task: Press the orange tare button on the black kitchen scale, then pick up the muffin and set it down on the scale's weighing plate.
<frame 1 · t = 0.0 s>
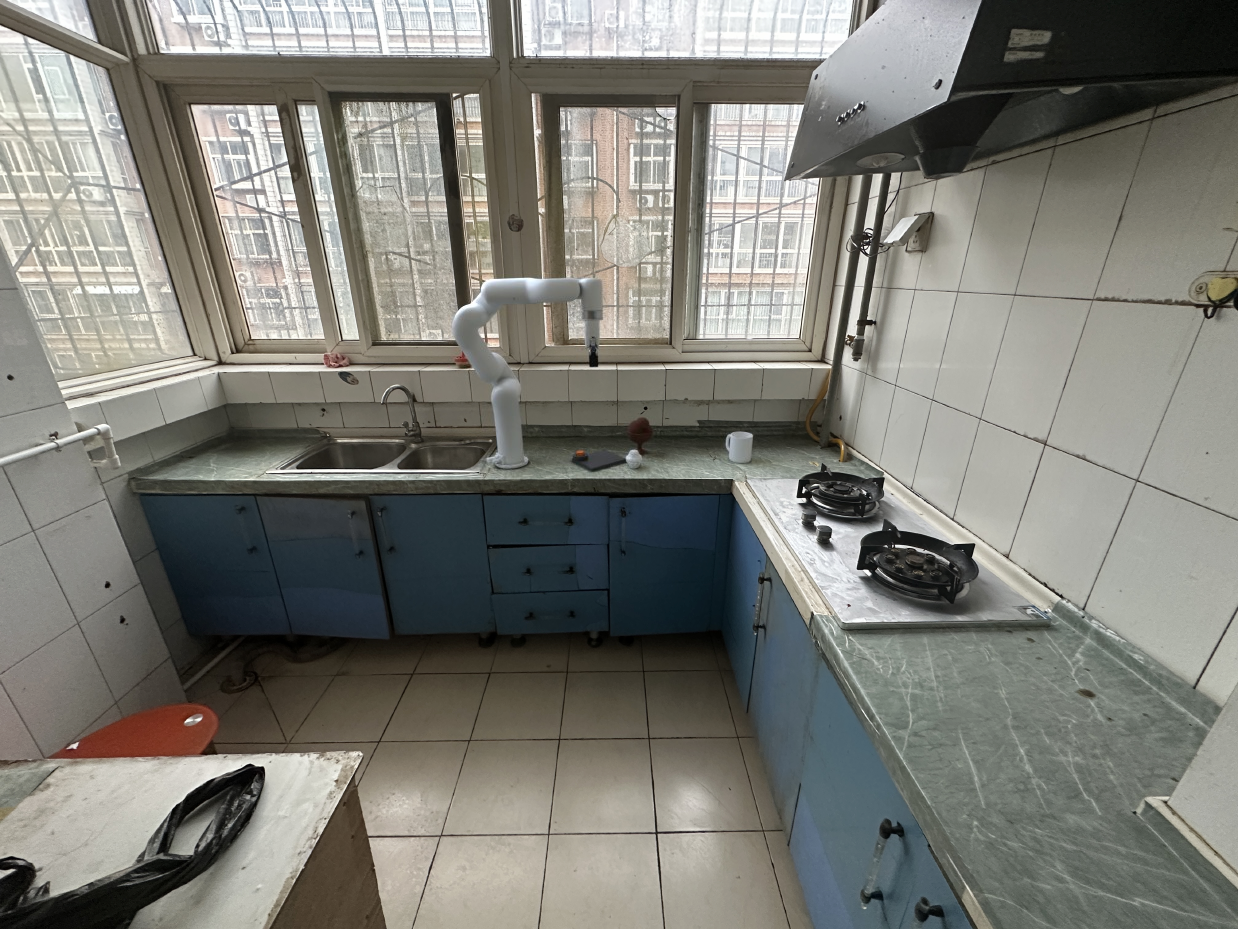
hand: (593, 364, 181), 37 cm above the worktop, tool pointing down, fingers open, 9 cm apart
tare button: (580, 453, 192), point 3 cm above the worktop, slide at 0.1 cm
muffin: (634, 467, 187), on the worktop
scale: (598, 461, 193), on the worktop
cup: (736, 458, 195), on the worktop
ice cream bowl: (639, 453, 202), on the worktop
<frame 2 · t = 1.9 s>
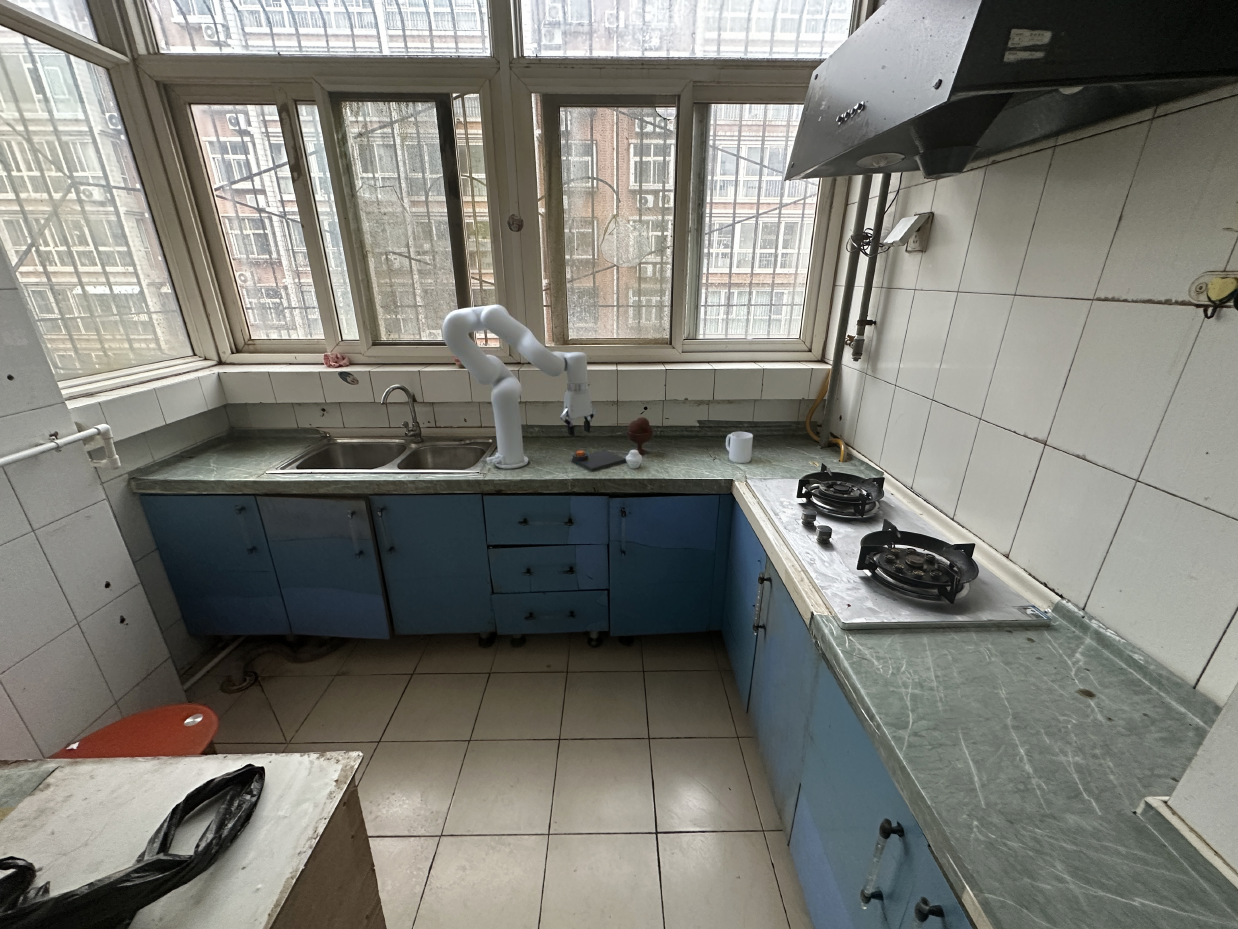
hand: (579, 433, 189), 12 cm above the worktop, tool pointing down, fingers open, 6 cm apart
nothing on the worktop moved.
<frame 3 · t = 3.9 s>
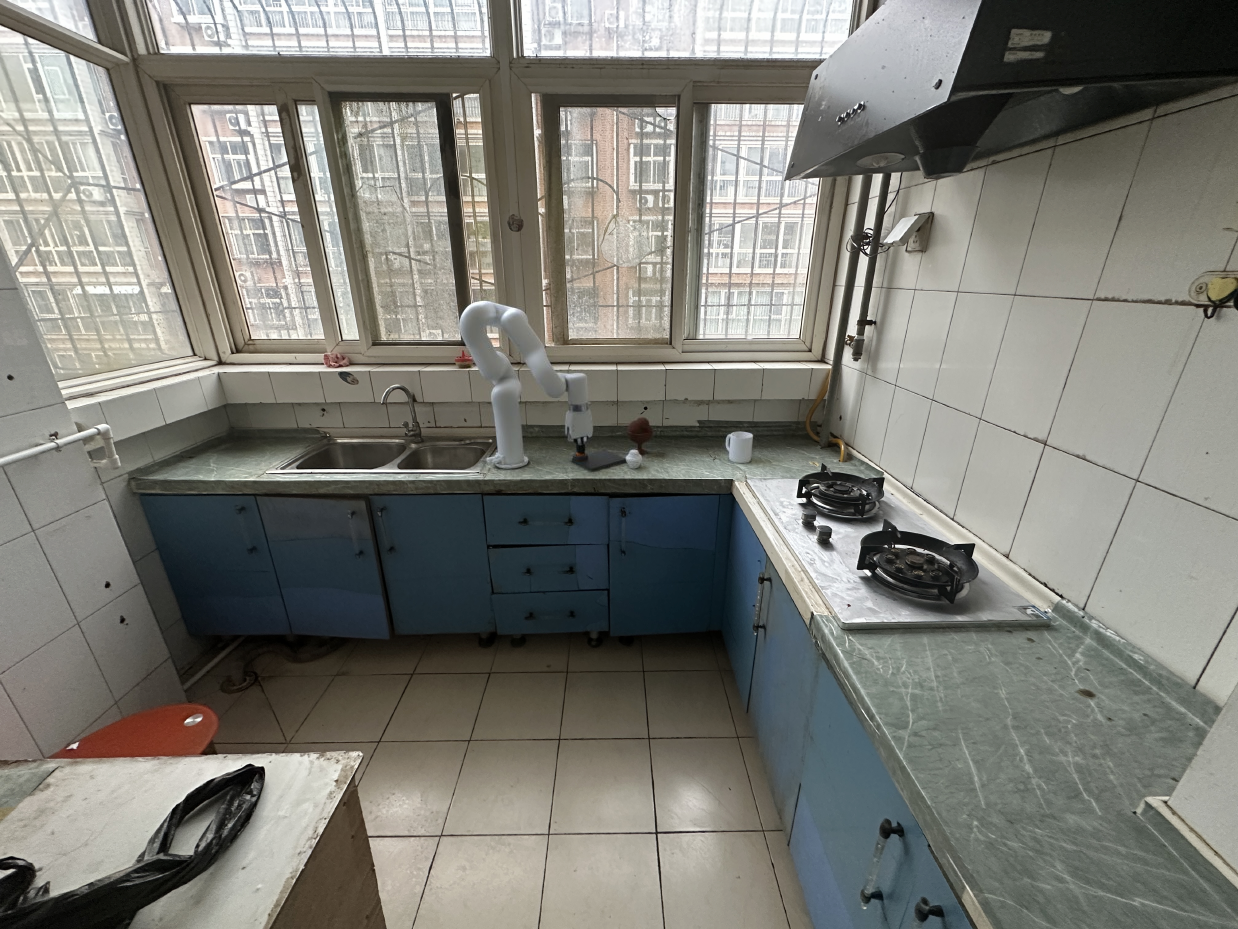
hand: (581, 453, 192), 3 cm above the worktop, tool pointing down, fingers closed
tare button: (580, 455, 192), point 3 cm above the worktop, slide at -0.6 cm, touching gripper
everything else where it was.
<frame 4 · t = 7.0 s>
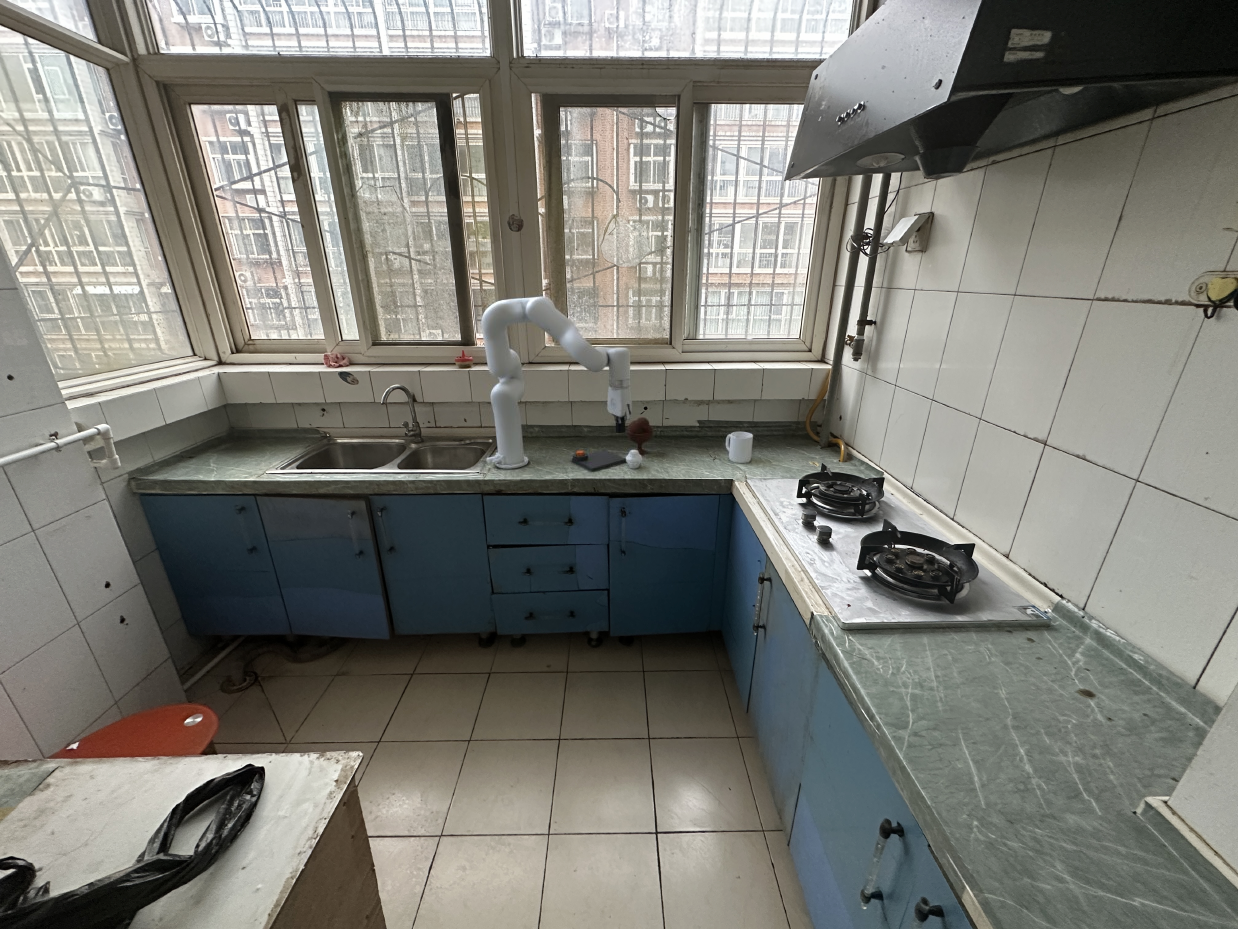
hand: (620, 432, 184), 13 cm above the worktop, tool pointing down, fingers closed
tare button: (580, 453, 192), point 3 cm above the worktop, slide at 0.1 cm
everything else where it was.
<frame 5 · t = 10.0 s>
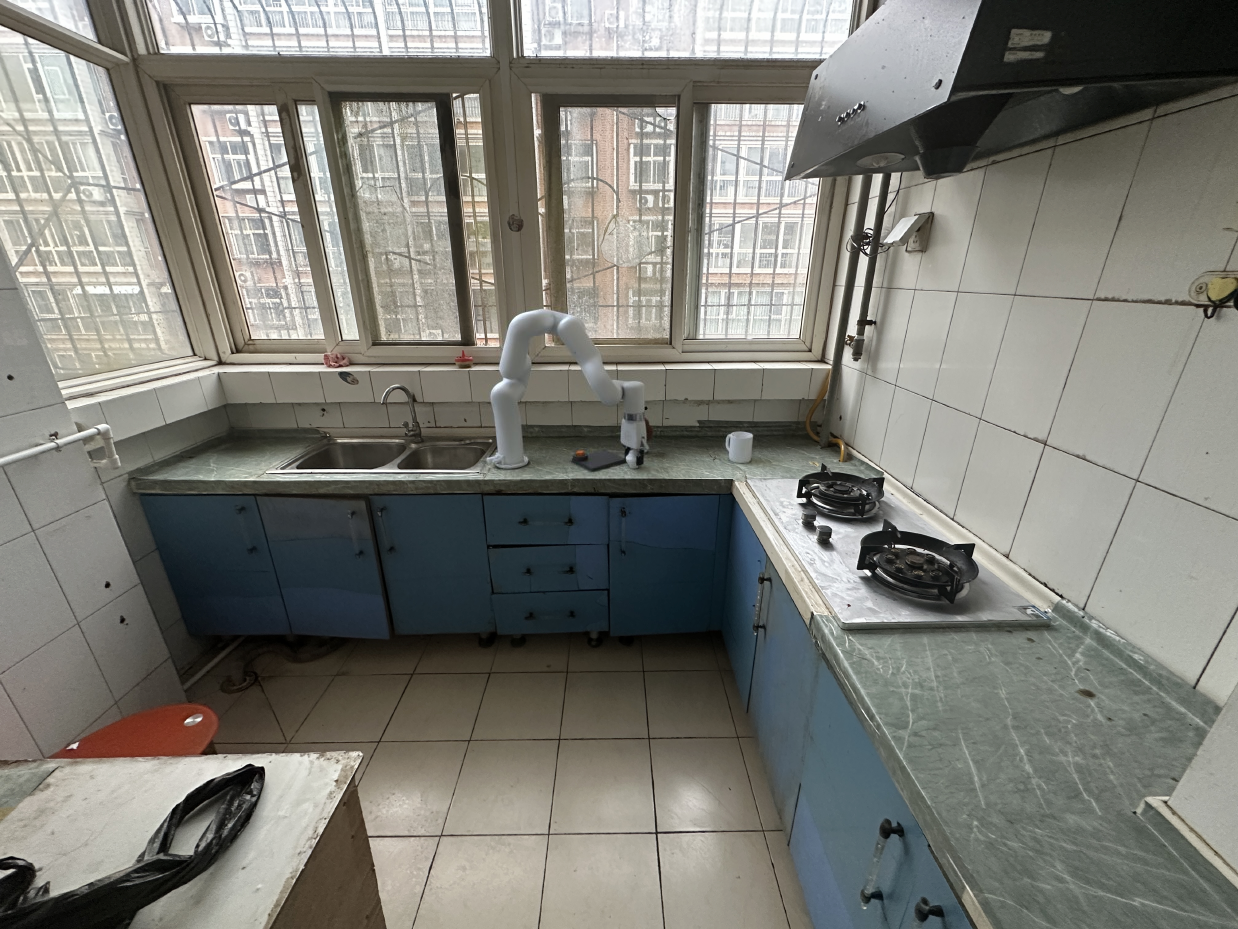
hand: (634, 462, 186), 2 cm above the worktop, tool pointing down, fingers closed on muffin, 6 cm apart
muffin: (634, 467, 187), on the worktop, touching gripper
everything else where it was.
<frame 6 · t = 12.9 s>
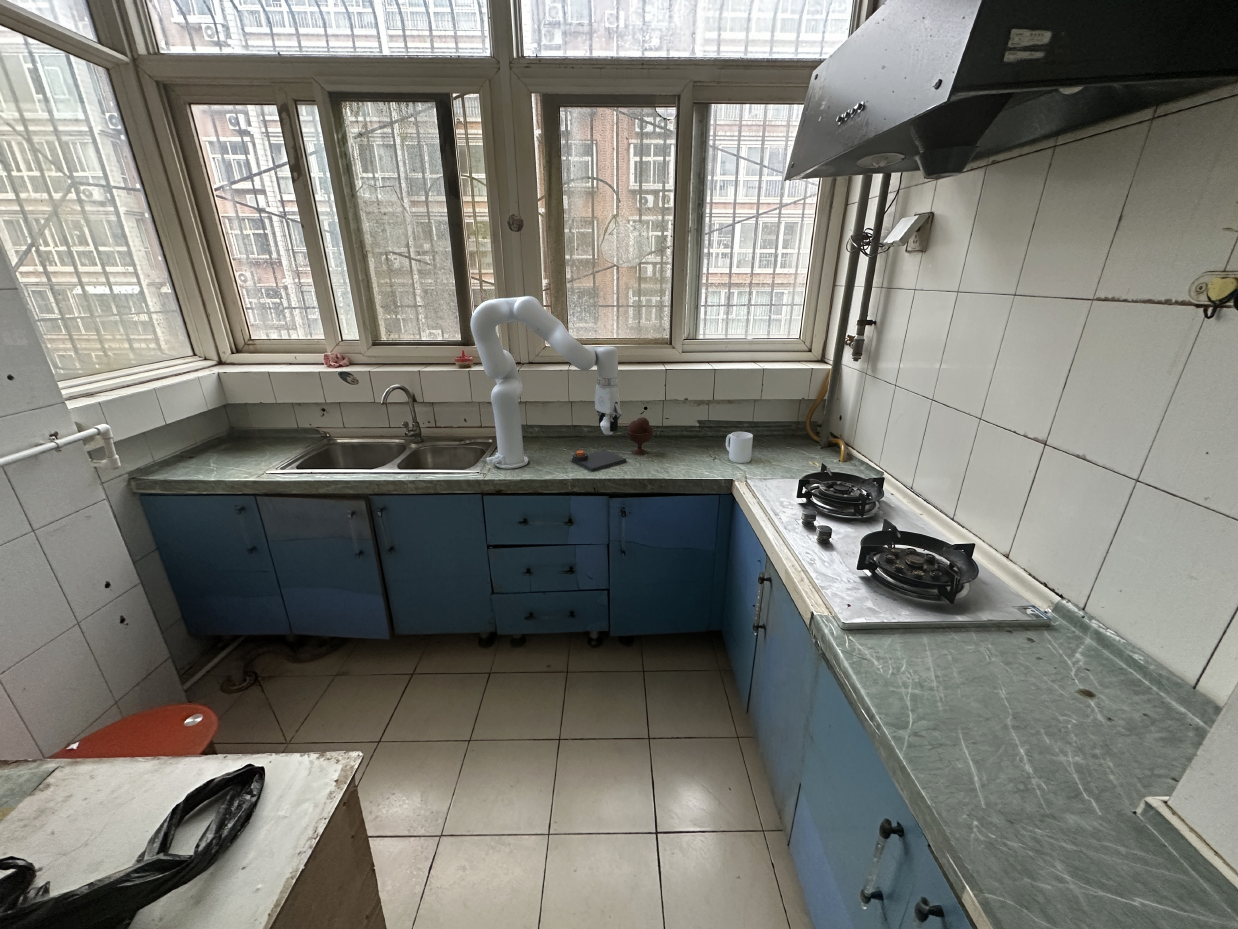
hand: (608, 428, 187), 14 cm above the worktop, tool pointing down, fingers closed on muffin, 6 cm apart
muffin: (608, 434, 188), point 12 cm above the worktop, touching gripper
everything else where it was.
when the fingers open (3 cm above the worktop, at t = 15.8 s): muffin stays where it is, resting on scale.
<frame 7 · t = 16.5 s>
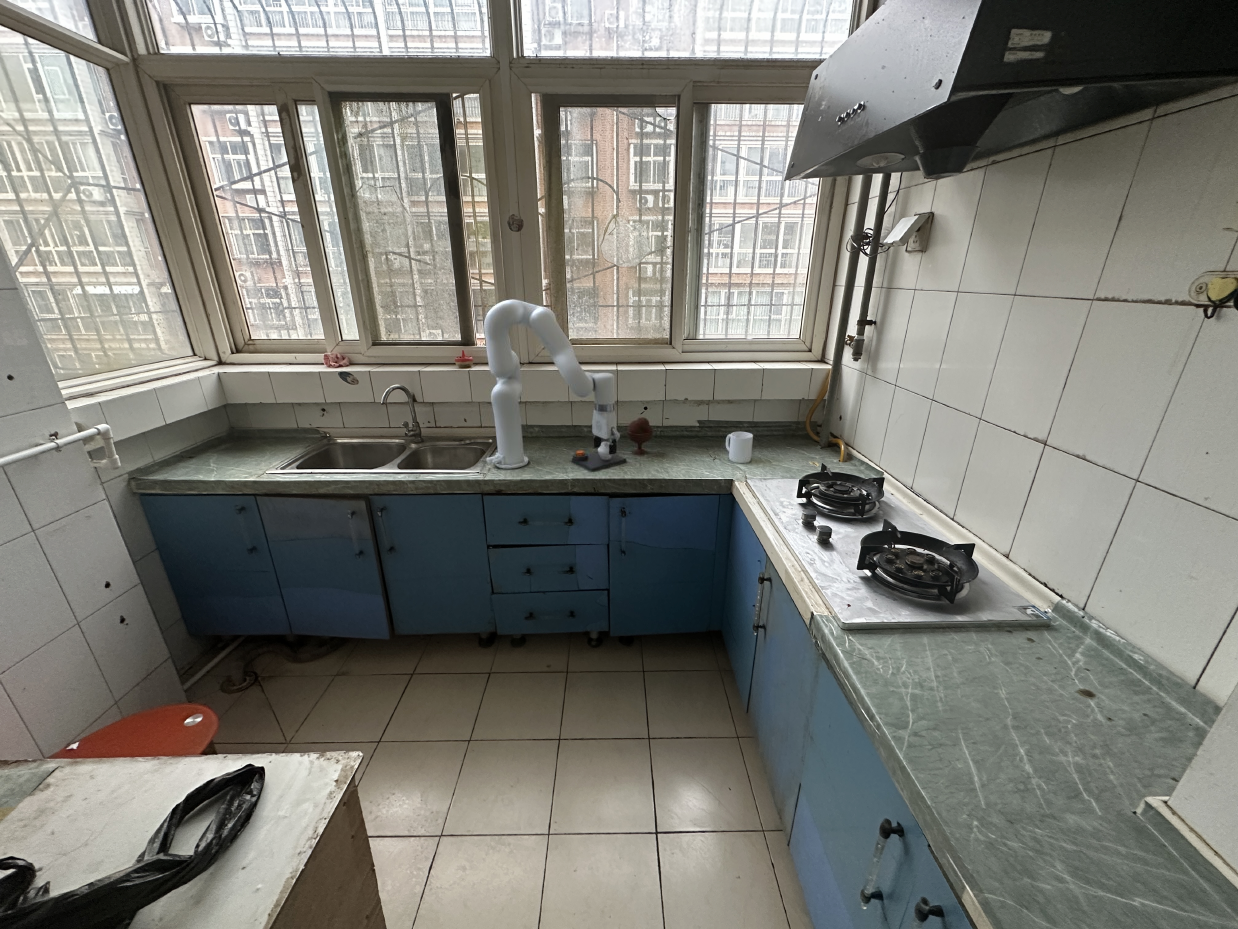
hand: (605, 450, 191), 5 cm above the worktop, tool pointing down, fingers open, 9 cm apart
muffin: (605, 459, 192), point 1 cm above the worktop, touching scale
everything else where it was.
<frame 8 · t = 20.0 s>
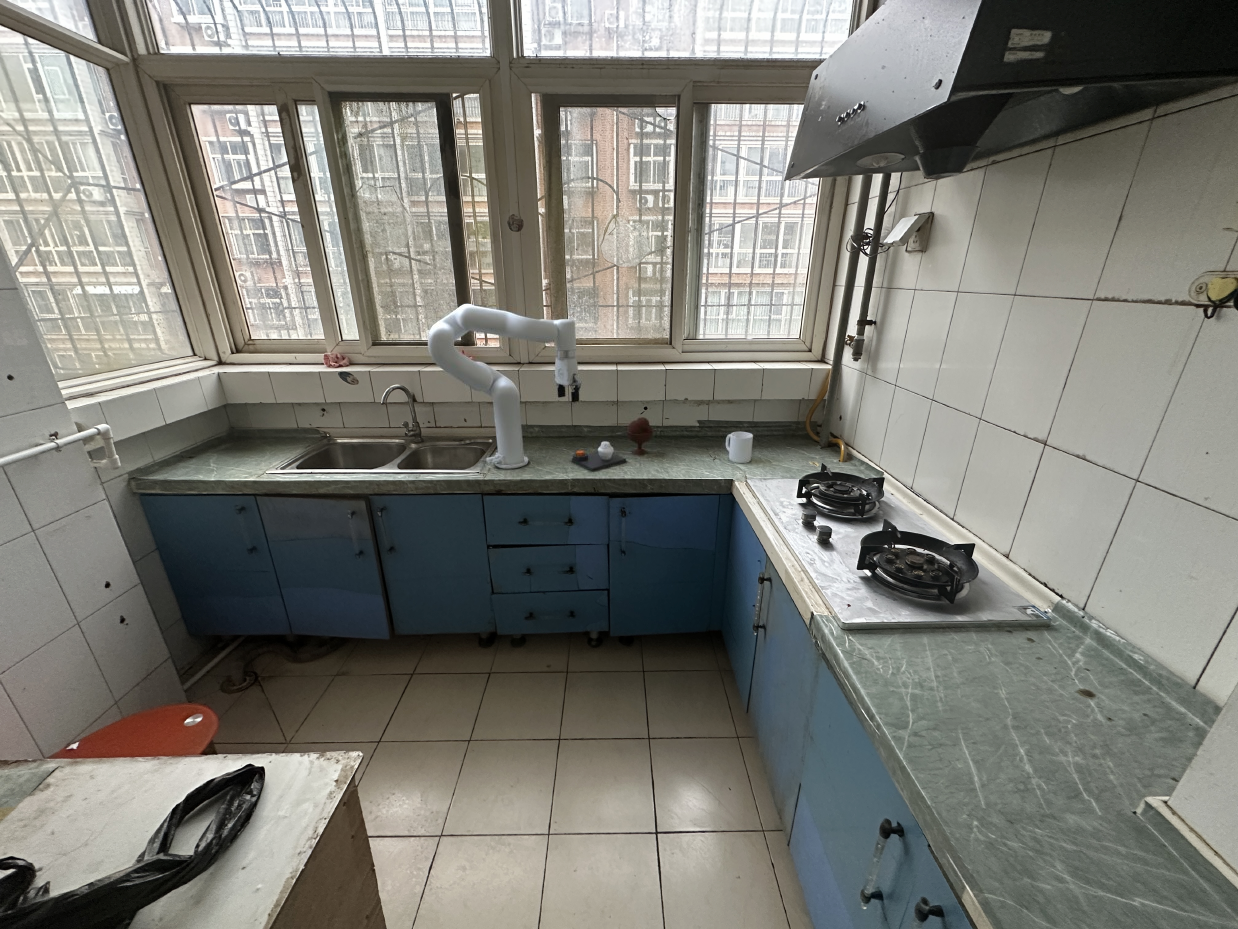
hand: (568, 399, 190), 23 cm above the worktop, tool pointing down, fingers open, 9 cm apart
nothing on the worktop moved.
at the end: tare button pushed in 0.9 cm at the most during the clip, back to where it started at the end; tare button slide at 0.1 cm; muffin inside the target area on the scale (2.8 cm from its centre), point 1.2 cm above the scale's base; muffin touching scale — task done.
